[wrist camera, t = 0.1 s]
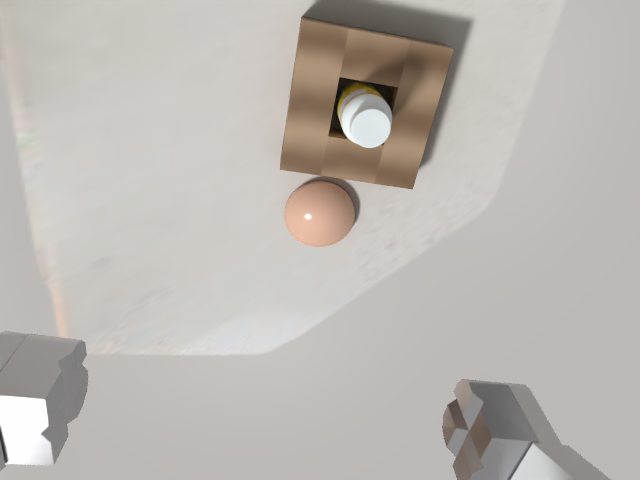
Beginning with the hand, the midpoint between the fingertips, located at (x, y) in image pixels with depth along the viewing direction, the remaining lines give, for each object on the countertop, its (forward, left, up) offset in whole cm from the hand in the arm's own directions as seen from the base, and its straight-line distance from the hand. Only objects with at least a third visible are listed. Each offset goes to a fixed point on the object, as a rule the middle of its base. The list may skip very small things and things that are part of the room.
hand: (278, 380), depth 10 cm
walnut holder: (+4, +9, -48) cm, 49 cm away
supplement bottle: (+4, +9, -48) cm, 49 cm away
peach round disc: (+19, +7, -48) cm, 52 cm away
